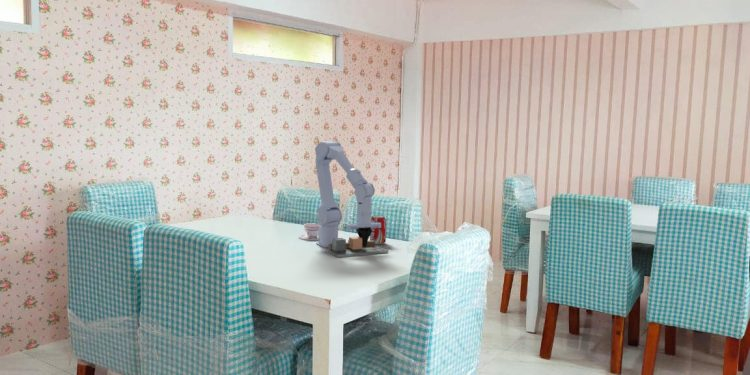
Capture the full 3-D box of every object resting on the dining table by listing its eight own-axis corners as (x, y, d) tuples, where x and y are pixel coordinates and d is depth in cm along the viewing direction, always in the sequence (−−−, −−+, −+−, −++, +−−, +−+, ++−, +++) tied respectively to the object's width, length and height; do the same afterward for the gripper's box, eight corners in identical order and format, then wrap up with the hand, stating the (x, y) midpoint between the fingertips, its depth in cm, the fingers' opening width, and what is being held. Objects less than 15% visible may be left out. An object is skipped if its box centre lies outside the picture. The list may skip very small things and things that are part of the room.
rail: (328, 248, 259) (328, 244, 258) (372, 245, 268) (372, 240, 267) (330, 249, 257) (330, 244, 257) (374, 246, 266) (374, 241, 266)
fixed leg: (329, 249, 258) (329, 237, 257) (338, 248, 260) (338, 236, 259) (336, 252, 251) (336, 240, 251) (345, 251, 253) (346, 239, 253)
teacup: (331, 237, 290) (331, 224, 289) (314, 241, 280) (314, 227, 279) (310, 234, 296) (310, 221, 296) (293, 238, 286) (293, 225, 286)
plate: (326, 251, 258) (326, 249, 258) (374, 247, 268) (374, 244, 268) (338, 257, 248) (338, 254, 247) (388, 252, 257) (388, 250, 257)
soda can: (384, 245, 272) (384, 217, 271) (368, 244, 274) (368, 217, 273) (387, 242, 279) (387, 215, 278) (371, 241, 281) (371, 214, 279)
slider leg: (345, 247, 261) (345, 235, 260) (355, 246, 263) (355, 235, 262) (352, 251, 255) (353, 238, 254) (362, 250, 256) (362, 238, 256)
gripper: (352, 215, 251) (351, 249, 252) (384, 213, 257) (384, 246, 259) (344, 213, 257) (344, 246, 258) (376, 211, 263) (376, 243, 265)
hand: (363, 246), depth 259 cm, fingers closed
